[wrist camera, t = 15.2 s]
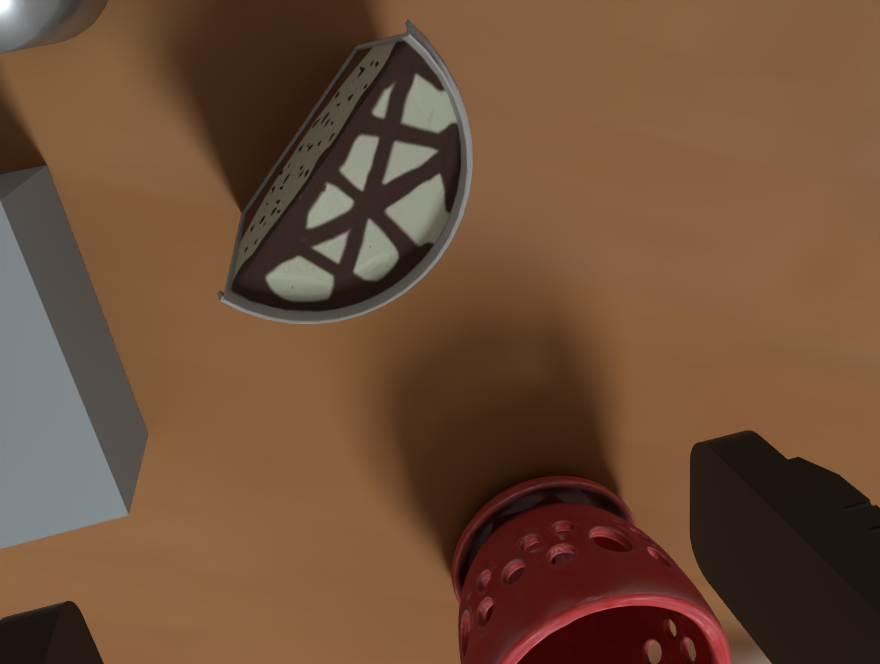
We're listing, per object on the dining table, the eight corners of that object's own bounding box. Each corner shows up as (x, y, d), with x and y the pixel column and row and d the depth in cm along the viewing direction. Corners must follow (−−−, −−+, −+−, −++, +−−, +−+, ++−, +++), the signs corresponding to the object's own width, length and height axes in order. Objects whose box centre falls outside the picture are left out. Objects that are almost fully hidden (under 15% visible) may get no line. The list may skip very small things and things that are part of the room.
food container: (331, 305, 39) (354, 393, 30) (224, 238, 37) (214, 313, 28) (479, 101, 37) (552, 132, 28) (375, 16, 35) (419, 20, 26)
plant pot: (498, 424, 44) (578, 558, 33) (668, 497, 49) (786, 635, 38) (389, 599, 47) (429, 774, 36) (559, 651, 52) (640, 820, 41)
